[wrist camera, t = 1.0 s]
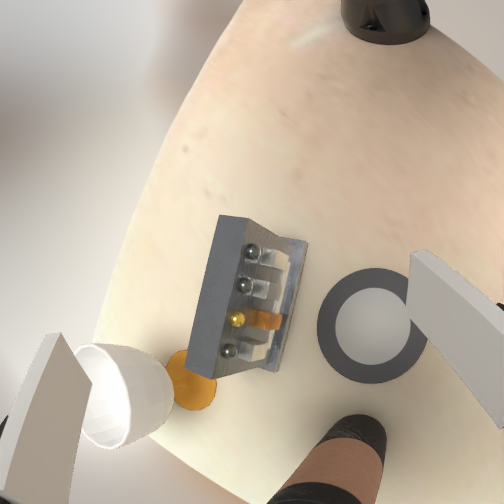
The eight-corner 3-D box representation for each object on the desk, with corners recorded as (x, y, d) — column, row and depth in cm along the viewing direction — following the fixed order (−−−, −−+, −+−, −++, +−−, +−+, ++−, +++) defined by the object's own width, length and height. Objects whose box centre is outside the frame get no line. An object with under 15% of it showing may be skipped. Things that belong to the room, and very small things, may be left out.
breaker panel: (275, 237, 41) (215, 203, 29) (313, 244, 39) (266, 208, 26) (246, 360, 40) (176, 375, 27) (283, 372, 37) (222, 396, 25)
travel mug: (316, 455, 33) (237, 546, 16) (339, 403, 33) (271, 479, 16) (372, 475, 29) (331, 584, 12) (399, 422, 30) (385, 520, 12)
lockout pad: (408, 252, 33) (408, 251, 33) (441, 362, 29) (441, 362, 29) (305, 290, 38) (304, 289, 38) (333, 395, 34) (332, 396, 34)
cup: (237, 363, 40) (142, 381, 25) (209, 433, 40) (119, 471, 25) (172, 326, 46) (75, 323, 31) (151, 393, 46) (60, 407, 31)
